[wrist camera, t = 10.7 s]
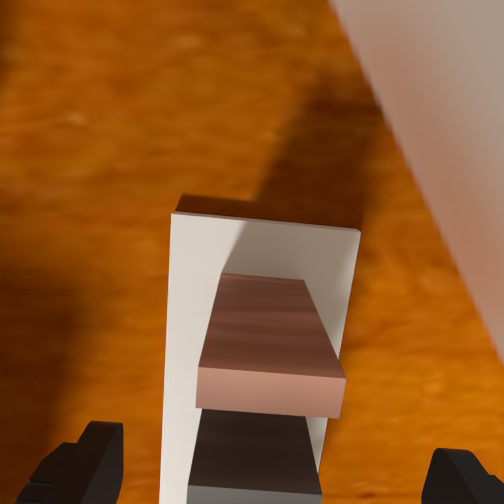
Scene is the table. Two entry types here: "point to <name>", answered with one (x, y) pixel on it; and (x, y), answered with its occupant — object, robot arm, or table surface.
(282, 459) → the dark grey rectangular block
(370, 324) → the table surface
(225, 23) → the table surface
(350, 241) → the board
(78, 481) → the robot arm
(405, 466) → the table surface
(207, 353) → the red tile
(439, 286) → the table surface
